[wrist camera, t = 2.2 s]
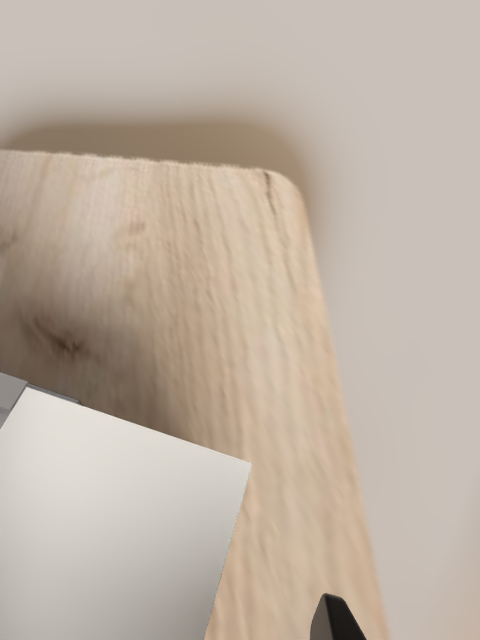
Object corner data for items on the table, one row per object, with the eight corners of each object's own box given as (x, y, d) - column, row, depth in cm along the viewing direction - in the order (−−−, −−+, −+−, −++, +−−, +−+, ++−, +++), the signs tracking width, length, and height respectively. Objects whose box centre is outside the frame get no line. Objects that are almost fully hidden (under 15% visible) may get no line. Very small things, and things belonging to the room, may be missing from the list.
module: (177, 656, 14) (141, 866, 5) (54, 610, 14) (-187, 731, 5) (222, 504, 16) (252, 463, 7) (117, 468, 16) (26, 386, 8)
